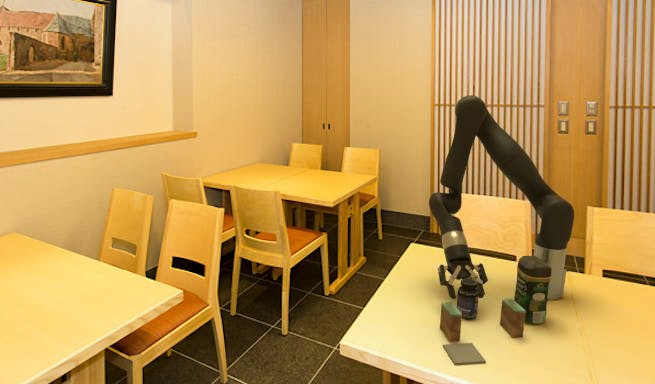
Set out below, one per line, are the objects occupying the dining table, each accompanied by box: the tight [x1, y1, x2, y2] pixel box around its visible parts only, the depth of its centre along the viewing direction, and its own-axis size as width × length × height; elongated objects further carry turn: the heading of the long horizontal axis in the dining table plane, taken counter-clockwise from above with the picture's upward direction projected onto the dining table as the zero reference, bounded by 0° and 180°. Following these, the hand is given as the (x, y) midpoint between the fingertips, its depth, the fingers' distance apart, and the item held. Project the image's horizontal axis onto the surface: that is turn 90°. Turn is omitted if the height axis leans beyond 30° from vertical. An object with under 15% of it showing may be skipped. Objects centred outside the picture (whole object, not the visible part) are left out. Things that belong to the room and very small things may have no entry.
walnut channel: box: [439, 298, 526, 343], centre depth 120 cm, size 21×7×8 cm, turn 96°
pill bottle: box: [455, 279, 480, 321], centre depth 128 cm, size 6×6×11 cm
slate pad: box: [442, 342, 487, 366], centre depth 110 cm, size 8×8×1 cm
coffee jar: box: [513, 255, 552, 325], centre depth 127 cm, size 10×8×19 cm
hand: (467, 298), depth 128 cm, fingers open, 8 cm apart
